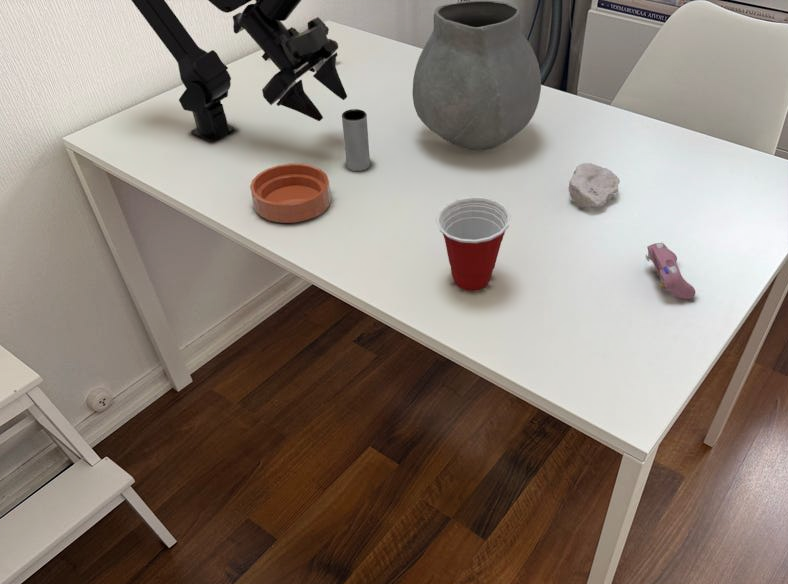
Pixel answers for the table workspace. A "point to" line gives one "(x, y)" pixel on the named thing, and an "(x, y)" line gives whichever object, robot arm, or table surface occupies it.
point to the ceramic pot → (476, 75)
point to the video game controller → (669, 271)
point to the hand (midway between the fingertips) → (333, 108)
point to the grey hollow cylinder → (356, 139)
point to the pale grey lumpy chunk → (592, 185)
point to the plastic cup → (473, 238)
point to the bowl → (290, 193)
